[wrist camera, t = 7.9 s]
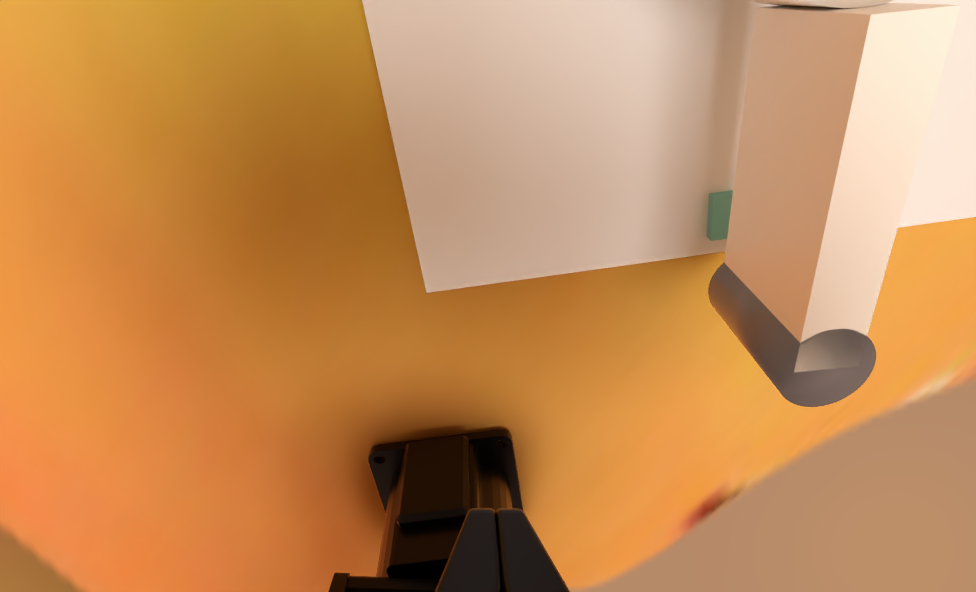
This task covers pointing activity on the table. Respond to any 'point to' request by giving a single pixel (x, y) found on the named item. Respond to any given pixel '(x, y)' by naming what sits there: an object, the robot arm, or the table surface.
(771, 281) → the lock lever
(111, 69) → the table surface
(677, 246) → the lock base
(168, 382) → the table surface
